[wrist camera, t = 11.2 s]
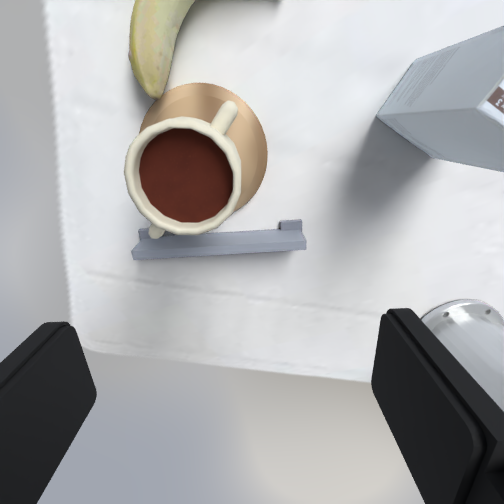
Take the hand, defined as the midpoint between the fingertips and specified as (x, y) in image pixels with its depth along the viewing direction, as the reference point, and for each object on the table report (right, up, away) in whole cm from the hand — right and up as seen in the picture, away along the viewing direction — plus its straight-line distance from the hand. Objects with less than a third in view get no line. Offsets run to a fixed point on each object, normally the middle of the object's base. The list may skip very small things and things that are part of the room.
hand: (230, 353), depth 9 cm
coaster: (-4, +13, +21) cm, 25 cm away
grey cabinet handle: (-3, +5, +25) cm, 25 cm away
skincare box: (+18, +17, +20) cm, 32 cm away
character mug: (-4, +13, +21) cm, 25 cm away
